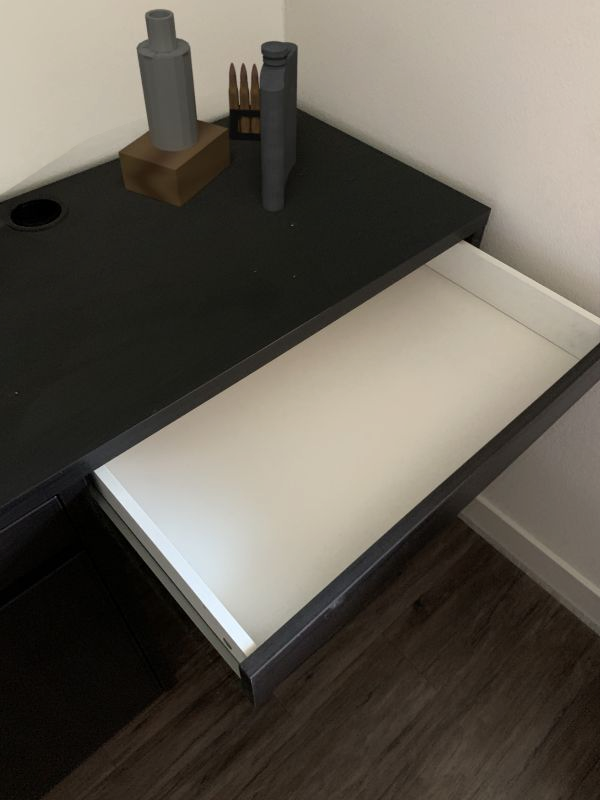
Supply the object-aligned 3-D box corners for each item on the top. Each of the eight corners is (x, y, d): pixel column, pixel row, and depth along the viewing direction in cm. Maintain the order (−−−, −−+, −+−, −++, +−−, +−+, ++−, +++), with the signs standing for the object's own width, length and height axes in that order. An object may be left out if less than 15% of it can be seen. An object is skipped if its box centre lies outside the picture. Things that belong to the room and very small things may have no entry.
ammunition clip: (229, 139, 111) (225, 64, 102) (230, 133, 112) (226, 59, 103) (293, 142, 111) (294, 67, 101) (293, 136, 112) (295, 62, 103)
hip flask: (282, 212, 97) (282, 71, 82) (254, 210, 97) (250, 69, 82) (297, 157, 107) (299, 23, 92) (272, 155, 107) (270, 21, 92)
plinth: (125, 189, 100) (118, 151, 95) (178, 148, 108) (173, 112, 104) (180, 207, 97) (175, 169, 93) (230, 164, 105) (228, 128, 101)
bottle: (141, 144, 97) (120, 17, 84) (169, 124, 101) (153, 0, 88) (181, 156, 95) (165, 28, 82) (207, 135, 99) (197, 10, 86)
